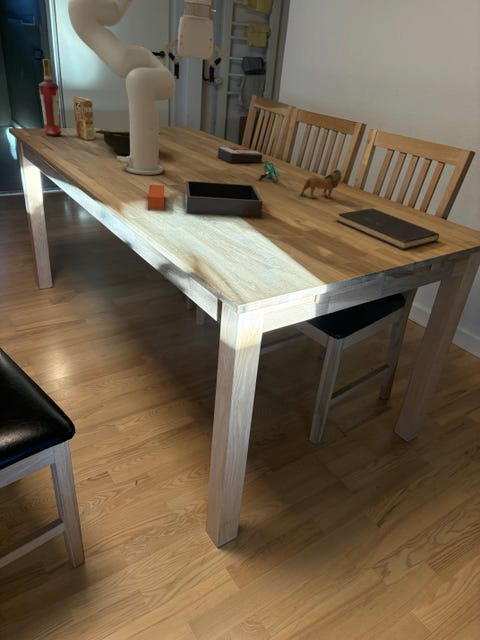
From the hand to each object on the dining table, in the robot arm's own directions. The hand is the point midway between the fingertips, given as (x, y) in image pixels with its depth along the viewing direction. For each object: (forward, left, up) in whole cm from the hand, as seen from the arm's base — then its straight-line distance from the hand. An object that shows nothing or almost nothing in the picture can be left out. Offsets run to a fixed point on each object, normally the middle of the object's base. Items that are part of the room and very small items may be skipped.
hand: (193, 80), depth 141 cm
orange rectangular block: (-10, -24, -30) cm, 40 cm away
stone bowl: (-23, +42, -31) cm, 57 cm away
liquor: (-55, +61, -31) cm, 88 cm away
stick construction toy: (+28, +12, -31) cm, 43 cm away
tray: (+9, -24, -30) cm, 40 cm away
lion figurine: (+43, -6, -31) cm, 53 cm away
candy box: (-42, +61, -31) cm, 80 cm away
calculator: (+22, +41, -31) cm, 56 cm away
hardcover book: (+54, -37, -31) cm, 72 cm away
